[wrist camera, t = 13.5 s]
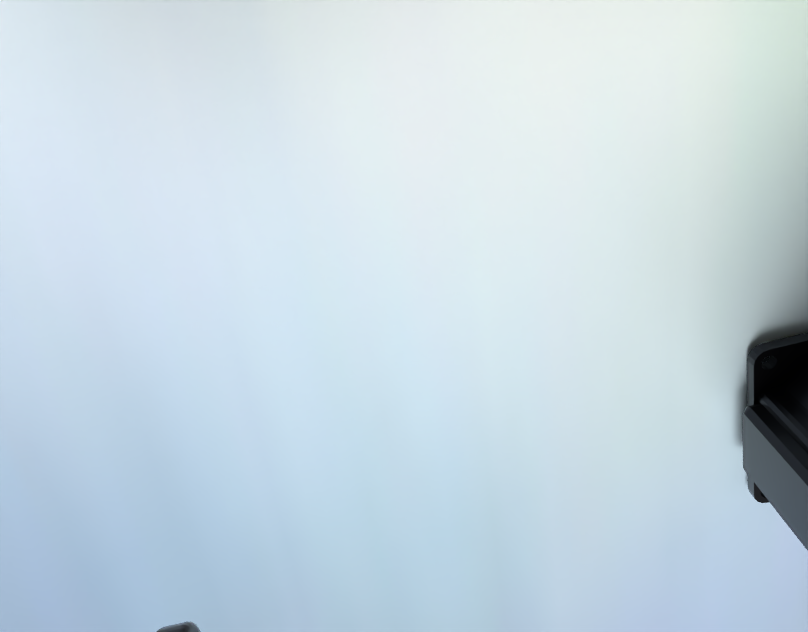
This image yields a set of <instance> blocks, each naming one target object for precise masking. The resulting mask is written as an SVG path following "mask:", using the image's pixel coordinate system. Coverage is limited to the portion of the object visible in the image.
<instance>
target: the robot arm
mask: <svg viewBox="0 0 808 632" xmlns="http://www.w3.org/2000/svg"><path fill="white" fill-rule="evenodd" d="M768 356H770V358H769V359H768V360H767V361H766V362H764V363H762V361H763V360H764V359H765V358H766V357H768ZM747 390H748V406H747V407H746V408H745V410H744V412H743V468H744V470H745V471H746V473H747V474H748V489H749V492H750V493H751V494H752V496H753V497H754V498H755V499H756V500H757V501H758V502H761V503H767V502H770V503H771V504H772V506H773V507H774V508H775V510H776V511H777V512H778V513H779V515H780V516H781V517H782V518H783V520H784V521H785V522H786V524H787V525H788V526H789V527H790V529H791V530H792V531H793V532H794V534H795V535H796V536H797V538H798V539H799V540H800V541H801V543H802V544H803V545H804V546H805V548H806V549H807V550H808V333H805V334H801V335H796V336H792V337H788V338H784V339H779V340H775V341H771V342H767V343H762V344H760V345H758V346H756V347H755V348H753V349H752V350H751V352H750V353H749V355H748V359H747ZM157 632H200V630H199V628H198V627H197V625H195V624H194V623H192V622H184V623H179V624H175V625H171V626H166V627H163V628H161V629H159V630H158V631H157Z"/></svg>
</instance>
